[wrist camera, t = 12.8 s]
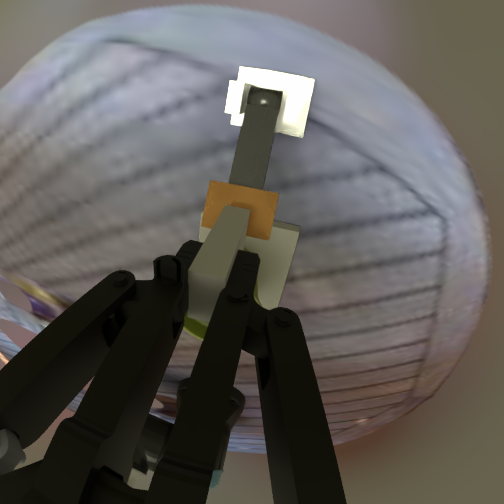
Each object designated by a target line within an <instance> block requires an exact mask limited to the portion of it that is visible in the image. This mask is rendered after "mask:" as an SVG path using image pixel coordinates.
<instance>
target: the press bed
mask: <svg viewBox="0 0 504 504" xmlns="http://www.w3.org/2000/svg"><path fill="white" fill-rule="evenodd" d="M204 208H205V207H204ZM203 213H204V209H203V210H202V211H201V218H200V231H199V242H202V243H204V241H205V239H206V238H207V236H208V234H209V232H210V231H211V229H210V228H206V227H201V223H202V218H203ZM299 233H300V226H296V225H292V224H287V223H283V222H278V221H273V225H272V229H271V234H270V239H269V241H268V240H263V239H258V238H254V237H249V236H246V239H245V245H244V248H246V249H247V250H249V251H250V252H252V253H257V254H258V256H259V258H260V260H261V261H260V265H259V270H258V275H257V283H258V298H259V301H260V303H261V305H262V307H263V308H266V309H273V308H277V307H278V304H279V301H280V298H281V294H282V291H283V288H284V285H285V281H286V278H287V275H288V271H289V268H290V264H291V261H292V258H293V254H294V251H295V247H296V244H297V240H298V237H299Z"/></svg>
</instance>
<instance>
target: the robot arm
mask: <svg viewBox="0 0 504 504" xmlns="http://www.w3.org/2000/svg"><path fill="white" fill-rule="evenodd" d="M249 216H250V210H249V209H244V208H239V207H234V206H229V205H225V207H224V208H223V210H222V212H221V213H220V215H219V217H218V219H217V220H216V222H215V224H214V225H213V227H212V229H211V231H210V232H209V234H208V236H207V238H206V239H205V241H204V243H202V242H198V241H193V240H189V241H188V242H186V243H184V244H183V245H182V247H181V248H180V250H179V251H178V253H177V254H176V256H172V255H165V256H161V257H158V258H156V259H155V260H154V261H153V264H154V278H153V280H135V276H134V275H133V274H132V273H131V272H129V271H126V270H119V271H115V272H113V273H111V274H109V275H108V276H107V277H106V278H104V279H103V280H102V281H101V282H99V283H98V284H97V285H96V286H94V287H93V288H92V289H91V290H89V291H88V292H87V293H86V294H84V295H83V296H82V297H81V298H80V299H78V300H77V301H76V302H75V303H74V304H72V305H71V306H70V307H69V308H68V309H66V310H65V311H64V312H63V313H62V314H61V315H59V316H58V317H57V318H56V319H55V320H54V321H52V322H51V323H50V324H49V325H48V326H47V327H46V328H45V329H43V330H42V331H41V332H40V333H39V334H38V335H37V336H36V337H35V338H34V339H32V341H30V342H29V343H28V344H27V345H26V346H25V347H24V348H23V349H22V350H21V351H20V352H19V353H18V354H17V355H15V356H14V357H13V358H12V359H11V360H10V361H9V362H8V363H7V364H6V365H5V366H4V367H3V368H2V369H1V370H0V504H205V503H206V499H207V495H208V491H209V489H212V488H215V487H216V486H217V485H218V484H219V481H220V477H221V474H222V472H223V466H224V461H225V457H226V452H227V447H228V442H229V437H230V433H231V429H232V428H233V426H234V425H235V423H236V422H237V420H238V418H239V417H240V415H241V413H242V412H243V409H244V405H245V398H244V396H243V395H242V394H241V393H240V392H239V391H238V390H236V389H235V388H233V384H234V380H235V376H236V371H237V367H238V362H239V358H240V353H241V349H242V350H244V351H246V352H248V353H250V354H252V355H254V356H255V364H256V372H257V380H258V388H259V396H260V403H261V411H262V419H263V427H264V434H265V442H266V449H267V457H268V464H269V472H270V479H271V486H272V493H273V500H274V504H347V503H346V499H345V494H344V490H343V486H342V481H341V477H340V472H339V468H338V464H337V459H336V455H335V451H334V447H333V443H332V439H331V435H330V431H329V427H328V423H327V419H326V415H325V411H324V407H323V403H322V399H321V395H320V392H319V388H318V384H317V380H316V376H315V373H314V369H313V365H312V362H311V358H310V354H309V351H308V347H307V344H306V340H305V336H304V333H303V329H302V326H301V322H300V319H299V317H298V315H297V314H296V313H295V312H293V311H292V310H290V309H288V308H283V307H277V308H273V309H271V310H270V311H269V310H267V309H265V308H263V307H262V306H260V305H259V304H258V303H257V302H256V300H255V298H254V289H255V284H256V280H257V275H258V270H259V265H260V261H261V260H260V258H259V256H258V254H257V253H252V252H248V251H243V250H244V245H245V239H246V233H247V227H248V221H249ZM187 311H188V317H189V318H192V319H196V320H200V321H204V322H208V323H209V325H208V327H207V330H206V333H205V336H204V339H203V342H202V344H201V347H200V350H199V353H198V356H197V359H196V362H195V364H194V367H193V370H192V373H191V376H190V378H188V379H185V380H183V381H181V382H180V384H179V387H178V390H177V417H176V420H175V423H174V424H172V423H170V422H168V421H165V420H163V419H160V418H158V417H156V416H154V415H151V414H149V411H150V408H151V406H152V403H153V401H154V398H155V395H156V393H157V390H158V388H159V385H160V383H161V380H162V378H163V375H164V373H165V371H166V368H167V366H168V363H169V361H170V358H171V356H172V353H173V351H174V349H175V346H176V344H177V341H178V339H179V337H180V334H181V332H182V330H183V327H184V323H185V315H186V313H187ZM93 377H94V378H93ZM92 378H93V380H92V382H91V384H90V386H89V388H88V390H87V391H86V393H85V395H84V397H83V399H82V401H81V403H80V405H79V407H78V409H77V411H76V413H75V414H74V416H72V417H70V418H66V419H64V420H63V421H62V422H61V423H60V425H59V426H58V428H57V430H56V432H55V434H54V436H53V438H52V441H51V443H50V445H49V447H48V449H47V451H46V454H45V456H44V458H43V460H40V461H38V462H35V463H33V464H30V465H27V466H25V467H22V468H19V469H17V470H14V468H15V467H16V466H17V464H18V463H23V462H25V460H26V455H25V453H24V452H23V449H24V448H26V447H28V446H30V445H31V444H32V443H34V442H35V441H36V440H37V439H38V438H39V437H40V436H41V435H42V434H43V433H44V432H45V431H46V430H47V429H48V427H49V426H50V425H51V424H52V423H53V422H54V420H55V419H56V418H57V417H58V416H59V415H60V414H61V412H62V411H63V410H64V409H65V408H66V407H67V406H68V405H69V403H70V402H71V401H72V400H73V399H74V398H75V397H76V396H77V394H78V393H79V392H80V391H81V390H82V389H83V388H84V387H85V386H86V384H87V383H88V382H89V381H90V380H91V379H92ZM13 470H14V471H13ZM148 470H151V471H154V475H153V477H152V481H151V484H150V487H149V490H148V491H147V490H140V489H134V488H133V487H134V483H135V481H136V480H138V479H141V478H144V477H146V474H147V471H148Z"/></svg>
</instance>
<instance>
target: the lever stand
mask: <svg viewBox="0 0 504 504" xmlns="http://www.w3.org/2000/svg"><path fill="white" fill-rule="evenodd" d="M314 81H315V79H311V78H307V77H302V76H298V75H293V74H288V73H282V72H277V71H271V70H264V69H257V68H250V67H242V66H240V68H239V74H238V80H237V81H231V80H230V83H229V89H228V95H227V102H226V108H225V113H230V114H232V117H231V125H237V126H242V122H243V118H244V113H245V109H246V105H247V99H248V94H249V90H250V88H251V86H254V87H261V88H267V89H273V90H278V91H283V96H282V102H281V107H280V112H279V116H278V120H277V125H276V130H275V132H277V133H282V134H287V135H292V136H296V137H301V138H303V134H304V129H305V124H306V120H307V115H308V110H309V106H310V101H311V96H312V91H313V86H314Z"/></svg>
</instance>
